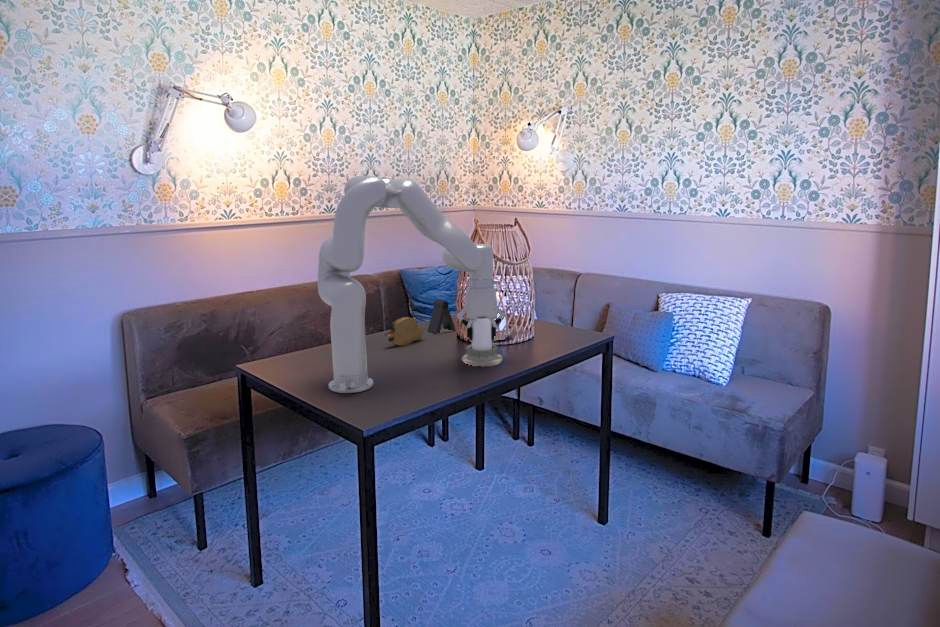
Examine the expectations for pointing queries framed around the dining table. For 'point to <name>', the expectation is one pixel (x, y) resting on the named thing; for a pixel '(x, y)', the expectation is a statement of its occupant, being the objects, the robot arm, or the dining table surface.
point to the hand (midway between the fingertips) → (481, 338)
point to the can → (482, 334)
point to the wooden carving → (404, 331)
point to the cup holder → (482, 357)
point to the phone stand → (440, 317)
